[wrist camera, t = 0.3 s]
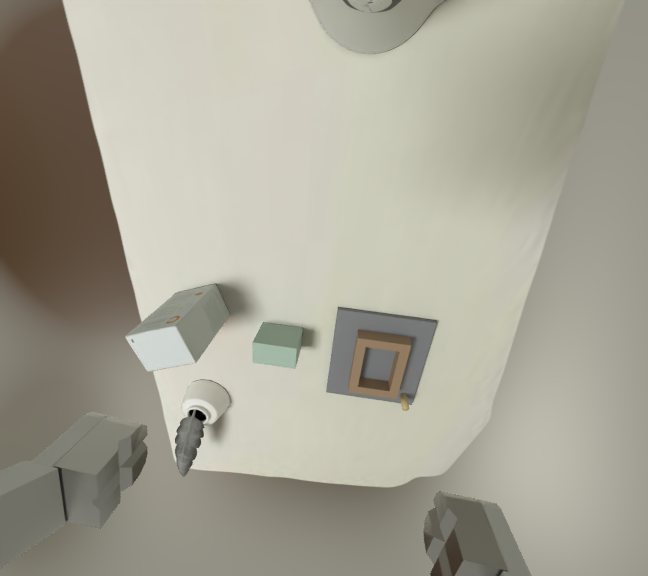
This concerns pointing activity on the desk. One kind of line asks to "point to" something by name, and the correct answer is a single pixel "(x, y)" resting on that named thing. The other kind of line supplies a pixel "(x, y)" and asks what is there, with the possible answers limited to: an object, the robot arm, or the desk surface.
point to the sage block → (277, 345)
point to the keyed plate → (378, 355)
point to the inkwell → (198, 418)
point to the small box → (179, 329)
